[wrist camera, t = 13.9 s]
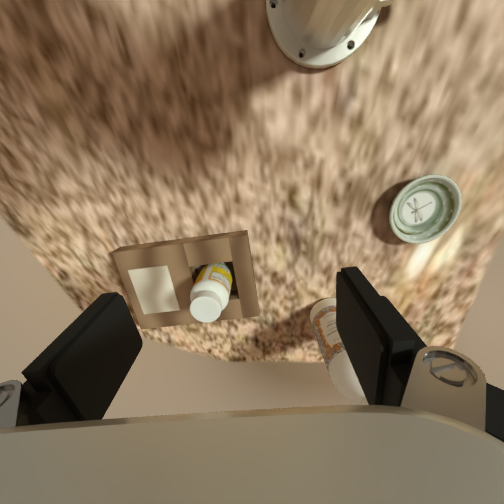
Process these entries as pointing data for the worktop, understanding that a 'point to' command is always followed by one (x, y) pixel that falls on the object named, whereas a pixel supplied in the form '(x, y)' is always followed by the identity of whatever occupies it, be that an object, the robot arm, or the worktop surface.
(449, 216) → the saucer
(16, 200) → the worktop surface
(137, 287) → the rack board
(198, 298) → the supplement bottle
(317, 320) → the bath foam
